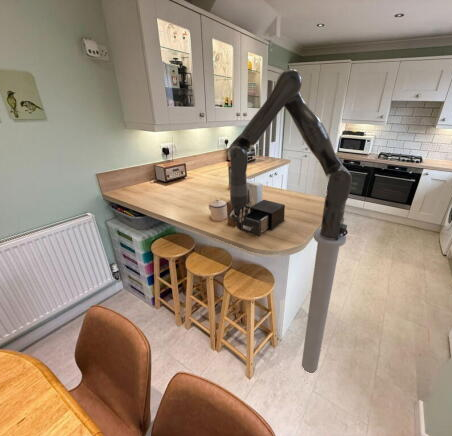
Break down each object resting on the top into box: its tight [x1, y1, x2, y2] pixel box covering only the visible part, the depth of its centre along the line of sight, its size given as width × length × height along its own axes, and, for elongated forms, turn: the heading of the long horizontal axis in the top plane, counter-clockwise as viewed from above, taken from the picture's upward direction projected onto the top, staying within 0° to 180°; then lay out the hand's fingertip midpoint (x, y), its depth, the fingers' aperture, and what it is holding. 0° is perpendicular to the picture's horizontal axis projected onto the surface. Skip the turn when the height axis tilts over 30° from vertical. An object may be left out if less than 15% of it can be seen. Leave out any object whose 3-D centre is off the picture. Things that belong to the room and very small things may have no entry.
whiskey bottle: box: [227, 160, 231, 191], centre depth 172 cm, size 10×10×32 cm
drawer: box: [238, 210, 271, 238], centre depth 116 cm, size 16×12×8 cm
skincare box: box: [247, 178, 264, 207], centre depth 148 cm, size 21×6×16 cm, turn 45°
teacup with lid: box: [208, 197, 227, 222], centre depth 131 cm, size 12×9×12 cm
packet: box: [225, 200, 237, 227], centre depth 123 cm, size 4×5×13 cm
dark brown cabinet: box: [249, 199, 286, 231], centre depth 126 cm, size 14×14×10 cm
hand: (240, 228), depth 107 cm, fingers closed
